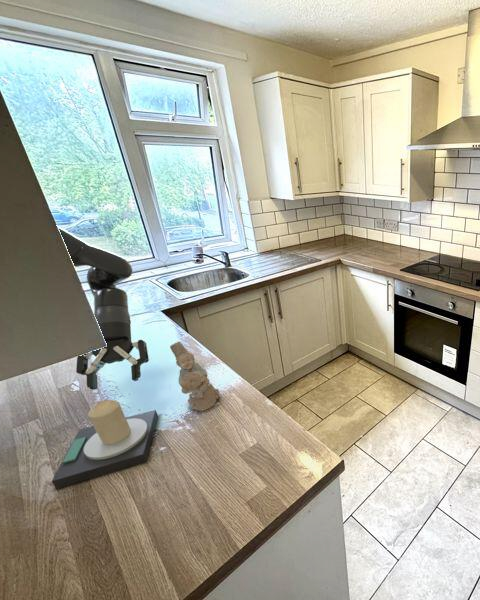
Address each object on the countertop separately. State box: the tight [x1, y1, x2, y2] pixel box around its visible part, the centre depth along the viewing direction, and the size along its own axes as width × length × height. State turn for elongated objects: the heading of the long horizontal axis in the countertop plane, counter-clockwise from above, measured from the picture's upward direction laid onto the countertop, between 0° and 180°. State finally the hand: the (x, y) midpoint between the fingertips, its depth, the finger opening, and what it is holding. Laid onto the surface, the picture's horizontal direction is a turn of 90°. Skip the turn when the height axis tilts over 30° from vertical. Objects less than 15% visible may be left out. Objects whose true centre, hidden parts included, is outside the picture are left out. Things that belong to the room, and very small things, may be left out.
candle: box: [87, 399, 131, 445], centre depth 77 cm, size 6×6×10 cm
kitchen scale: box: [51, 409, 159, 490], centre depth 79 cm, size 16×16×3 cm
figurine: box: [169, 341, 220, 412], centre depth 91 cm, size 9×8×20 cm
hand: (114, 384), depth 84 cm, fingers open, 8 cm apart
